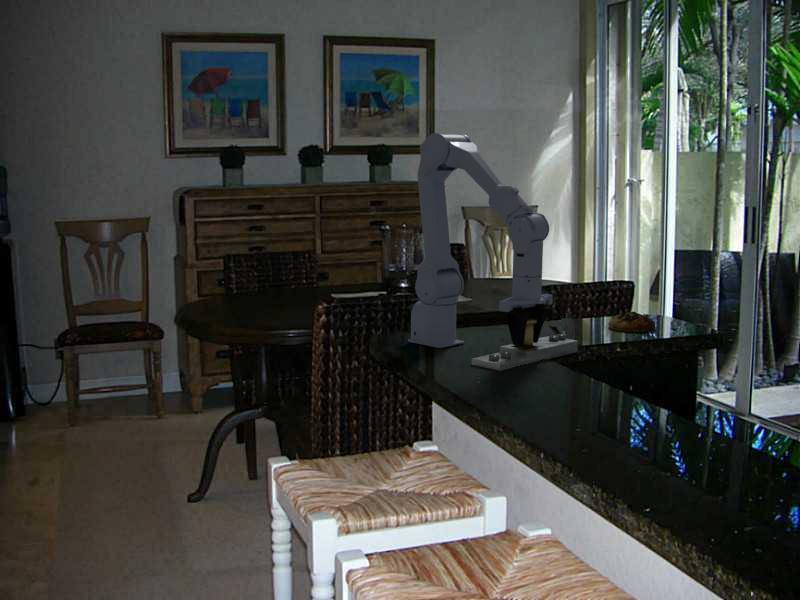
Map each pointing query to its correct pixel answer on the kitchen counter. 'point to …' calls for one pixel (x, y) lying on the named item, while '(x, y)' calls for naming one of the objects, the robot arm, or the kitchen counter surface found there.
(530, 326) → the pin
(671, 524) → the kitchen counter surface
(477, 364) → the square window plate
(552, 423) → the kitchen counter surface
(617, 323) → the bread roll
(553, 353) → the right chain end
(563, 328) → the caliper
